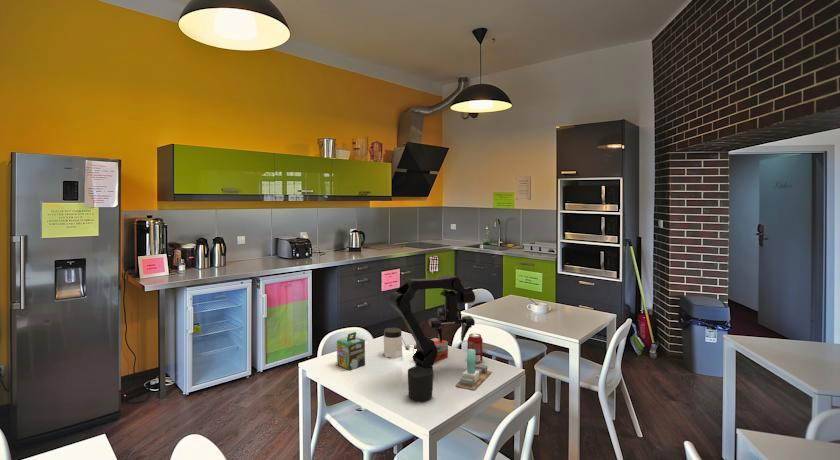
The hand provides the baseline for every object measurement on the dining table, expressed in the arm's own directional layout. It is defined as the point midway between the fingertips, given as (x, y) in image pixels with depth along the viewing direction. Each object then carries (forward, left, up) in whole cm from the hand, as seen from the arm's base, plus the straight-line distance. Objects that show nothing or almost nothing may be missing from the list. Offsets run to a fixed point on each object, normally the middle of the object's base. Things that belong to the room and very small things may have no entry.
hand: (451, 341), depth 189 cm
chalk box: (-41, +17, -13) cm, 46 cm away
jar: (-21, +26, -13) cm, 36 cm away
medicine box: (-5, +17, -13) cm, 22 cm away
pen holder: (-18, -21, -13) cm, 31 cm away
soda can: (+14, +10, -13) cm, 22 cm away
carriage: (+5, -12, -13) cm, 18 cm away
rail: (+7, -10, -13) cm, 18 cm away
